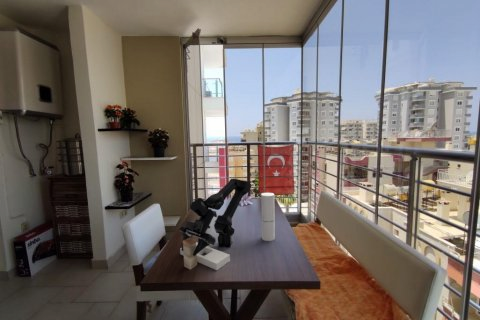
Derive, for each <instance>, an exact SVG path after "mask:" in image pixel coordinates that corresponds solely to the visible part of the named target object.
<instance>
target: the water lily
mask: <svg viewBox="0 0 480 320" xmlns="http://www.w3.org/2000/svg"><path fill="white" fill-rule="evenodd" d="M252 198H253V195H250V196H249V192H248V193H247V194H245V195H244V196H243V197H242V199H241V201H240V206H241V207H243V206H244V205H245V206H247V205H248V204H249V205H253V202H252V201H250V199H252Z"/></svg>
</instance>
